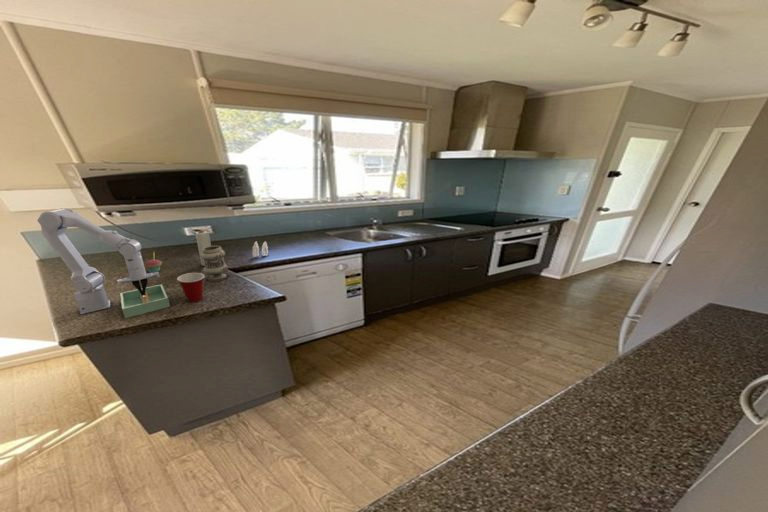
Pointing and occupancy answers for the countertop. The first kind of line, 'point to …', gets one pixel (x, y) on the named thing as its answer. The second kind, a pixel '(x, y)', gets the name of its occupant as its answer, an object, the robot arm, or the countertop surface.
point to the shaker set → (256, 249)
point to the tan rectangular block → (144, 298)
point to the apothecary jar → (214, 263)
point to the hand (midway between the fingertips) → (143, 294)
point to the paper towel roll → (202, 242)
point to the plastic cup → (192, 285)
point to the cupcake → (153, 264)
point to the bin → (135, 307)
